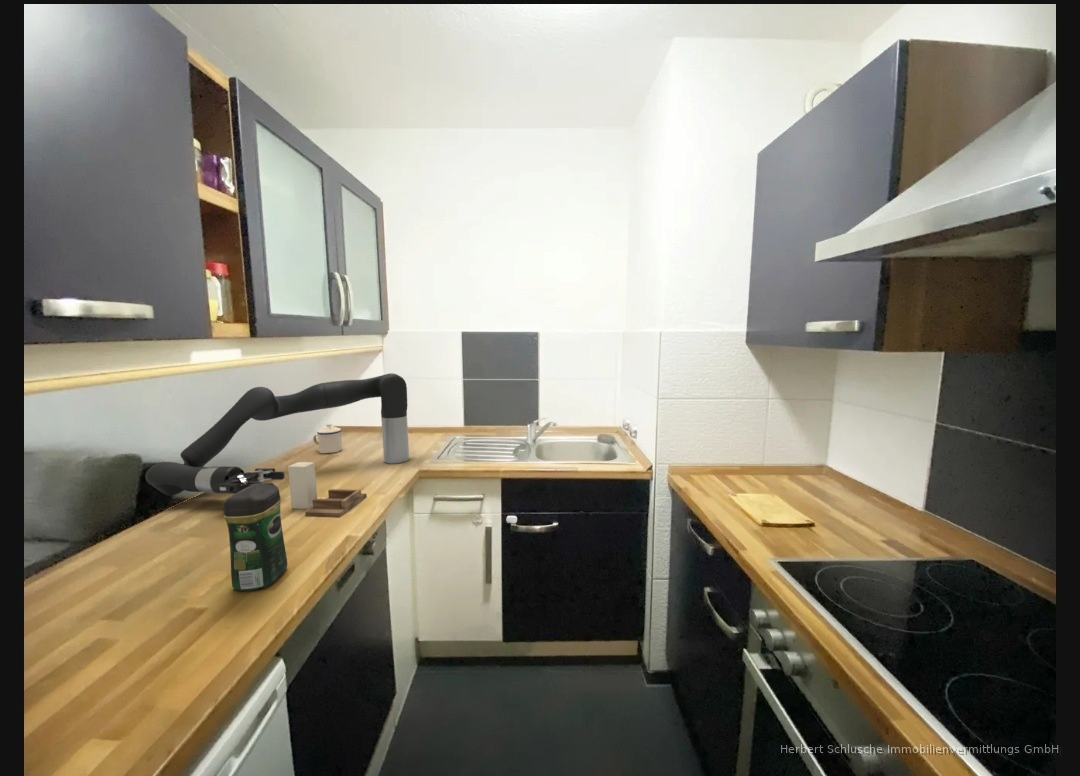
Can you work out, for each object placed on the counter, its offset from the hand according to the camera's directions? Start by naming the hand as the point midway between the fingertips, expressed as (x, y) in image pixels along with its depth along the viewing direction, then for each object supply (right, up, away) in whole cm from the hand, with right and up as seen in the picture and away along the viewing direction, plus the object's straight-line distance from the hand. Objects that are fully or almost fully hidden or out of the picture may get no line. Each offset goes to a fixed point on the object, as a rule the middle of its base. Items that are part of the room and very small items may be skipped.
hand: (273, 480), depth 119 cm
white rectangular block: (+9, -7, 0) cm, 11 cm away
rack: (+19, -7, -1) cm, 20 cm away
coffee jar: (+21, -12, -36) cm, 43 cm away
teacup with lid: (-13, 0, +57) cm, 59 cm away
